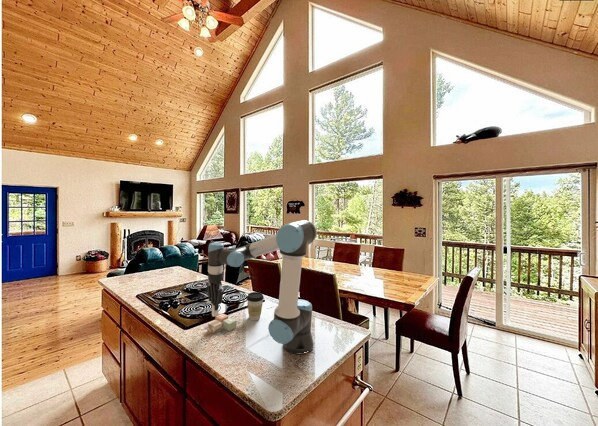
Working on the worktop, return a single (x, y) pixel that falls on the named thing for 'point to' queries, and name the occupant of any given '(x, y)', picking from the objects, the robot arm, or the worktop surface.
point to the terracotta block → (221, 318)
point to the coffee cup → (255, 305)
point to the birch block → (215, 326)
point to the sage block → (229, 324)
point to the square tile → (219, 331)
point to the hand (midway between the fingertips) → (214, 315)
